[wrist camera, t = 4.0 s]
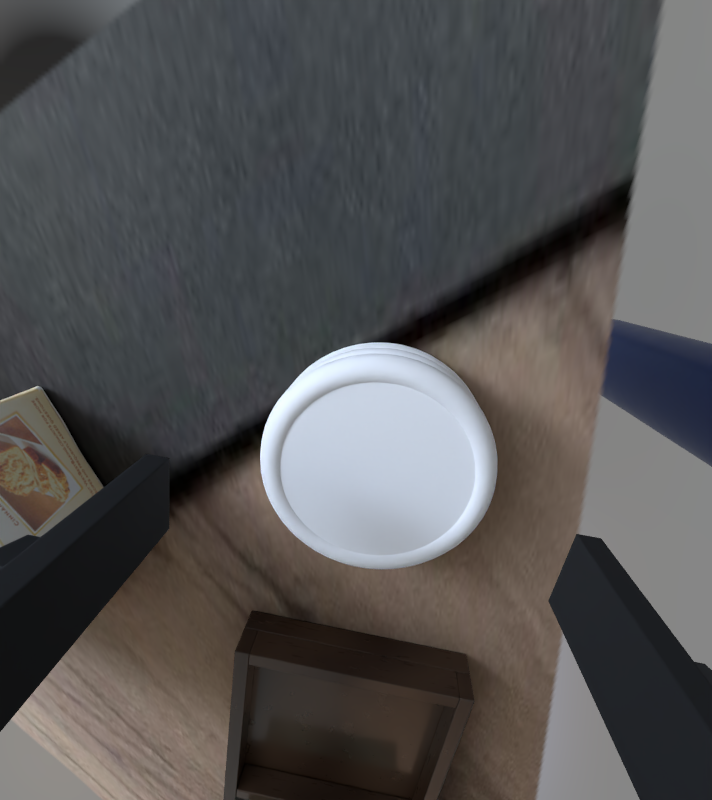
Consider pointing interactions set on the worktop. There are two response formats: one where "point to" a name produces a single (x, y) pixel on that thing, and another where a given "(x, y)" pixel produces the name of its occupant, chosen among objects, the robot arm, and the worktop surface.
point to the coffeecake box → (38, 467)
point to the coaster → (379, 457)
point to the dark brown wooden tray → (341, 714)
